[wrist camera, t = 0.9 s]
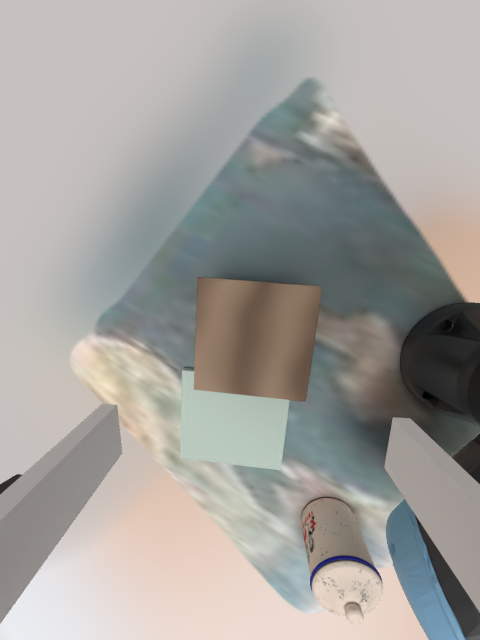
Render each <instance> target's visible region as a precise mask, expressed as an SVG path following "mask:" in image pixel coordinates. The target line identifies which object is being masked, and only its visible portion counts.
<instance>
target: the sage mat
mask: <svg viewBox="0 0 480 640" xmlns="http://www.w3.org/2000/svg"><path fill="white" fill-rule="evenodd" d="M289 401H290V400H286V399H276V398H267V397H257V396H248V395H238V394H229V393H220V392H210V391H201V390H194V368H184V369H183V370H182V403H181V443H180V458H186V459H194V460H202V461H210V462H218V463H226V464H234V465H242V466H250V467H258V468H266V469H275V470H281V464H282V456H283V448H284V440H285V432H286V424H287V416H288V409H289Z"/></svg>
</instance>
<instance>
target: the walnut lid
mask: <svg viewBox="0 0 480 640" xmlns="http://www.w3.org/2000/svg"><path fill="white" fill-rule="evenodd" d="M321 292H322V287H320V286H312V285H299V284H286V283H272V282H259V281H246V280H233V279H220V278H207V277H198V283H197V311H196V339H195V367H194V390H201V391H210V392H220V393H229V394H238V395H248V396H257V397H267V398H276V399H286V400H295V401H305V402H306V397H307V390H308V383H309V376H310V369H311V362H312V355H313V348H314V341H315V334H316V327H317V320H318V313H319V306H320V299H321Z"/></svg>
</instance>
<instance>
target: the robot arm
mask: <svg viewBox="0 0 480 640" xmlns="http://www.w3.org/2000/svg"><path fill="white" fill-rule="evenodd" d="M400 367H401V373H402V377H403V379H404V382H405V383H406V385H407V387H408V388H409V389H410V391H411V392H412V393H413V394H414V395H415V396H416V397H418V398H419V399H420V400H422V401H423V402H424V403H425V404H427V405H428V406H430V407H431V408H433V409H435V410H437V411H439V412H441V413H444V414H447V415H450V416H453V417H455V418H458V419H461V420H464V421H467V422H470V423H473V424H476V425H479V426H480V303H458V304H453V305H449V306H446V307H443V308H441V309H438V310H436V311H434V312H433V313H431V314H429V315H428V316H426V317H425V318H424V319H423V320H421V321H420V322H419V323H418V324H417V325H416V326H415V327H414V329H413V330H412V331H411V333H410V334H409V336H408V337H407V339H406V341H405V343H404V346H403V349H402V352H401V359H400ZM121 454H122V446H121V437H120V429H119V419H118V410H117V405H108V404H102V405H101V406H99V407H98V408H97V409H96V410H95V411H94V412H93V413H92V414H90V415H89V416H88V417H87V418H86V419H85V420H84V421H83V422H81V423H80V424H79V425H78V426H77V427H76V428H75V429H74V430H72V431H71V432H70V433H69V434H68V435H67V436H66V437H65V438H64V439H62V440H61V441H60V442H59V443H58V444H57V445H56V446H54V447H53V448H52V449H51V450H50V451H49V452H48V453H47V454H45V455H44V456H43V457H42V458H41V459H40V460H39V461H38V462H36V463H35V464H34V465H33V466H32V467H31V468H30V469H29V470H27V471H26V472H25V473H24V474H23V475H18V474H17V475H15V476H13V477H12V478H10V479H9V480H7V481H5V482H3V483H2V484H0V623H1V622H2V621H3V619H4V618H5V616H6V615H7V614H8V612H9V610H10V609H11V608H12V606H13V605H14V604H15V602H16V601H17V599H18V598H19V597H20V595H21V594H22V593H23V591H24V590H25V588H26V587H27V586H28V584H29V583H30V581H31V580H32V579H33V577H34V576H35V574H36V573H37V572H38V570H39V568H40V567H41V566H42V565H43V563H44V562H45V560H46V559H47V558H48V556H49V555H50V553H51V552H52V551H53V549H54V548H55V546H56V545H57V544H58V542H59V541H60V539H61V538H62V537H63V535H64V534H65V532H66V531H67V530H68V528H69V527H70V525H71V524H72V522H73V521H74V520H75V518H76V517H77V516H78V514H79V513H80V511H81V510H82V509H83V507H84V506H85V504H86V503H87V502H88V500H89V499H90V497H91V496H92V495H93V493H94V492H95V490H96V489H97V488H98V486H99V485H100V483H101V482H102V481H103V479H104V478H105V476H106V475H107V474H108V472H109V471H110V469H111V468H112V467H113V465H114V464H115V462H116V461H117V460H118V458H119V457H120V455H121ZM384 468H385V470H386V471H387V473H388V474H389V476H390V477H391V479H392V480H393V482H394V483H395V485H396V486H397V488H398V489H399V491H400V492H401V494H402V495H403V497H404V498H405V499H404V500H403V501H402V502H401V503H400V504H399V505H398V506H397V507H396V508H395V509H394V510H393V511H392V512H391V514H390V515H389V517H388V520H387V524H386V538H387V544H388V549H389V552H390V555H391V558H392V560H393V566H394V568H395V571H396V574H397V576H398V579H399V581H400V584H401V586H402V588H403V591H404V593H405V595H406V597H407V599H408V601H409V603H410V605H411V608H412V609H413V611H414V613H415V615H416V617H417V619H418V621H419V623H420V625H421V626H422V628H423V630H424V632H425V634H426V635H427V637H428V639H429V640H480V434H479V435H478V436H477V437H476V438H475V439H473V440H472V441H471V442H469V443H468V444H467V445H466V446H465V447H464V448H462V449H461V450H460V451H459V452H458V453H457V454H455V455H454V456H453V457H452V458H451V457H450V456H449V455H448V454H447V453H446V452H445V451H444V450H443V449H442V448H441V447H440V446H439V445H438V444H437V443H436V442H435V441H434V440H432V439H431V438H430V437H429V436H428V435H427V434H426V433H425V432H424V431H423V430H422V429H421V428H420V427H419V426H418V425H417V424H416V423H415V422H414V421H412V420H411V419H410V418H395V417H393V419H392V425H391V431H390V437H389V443H388V449H387V455H386V460H385V466H384Z"/></svg>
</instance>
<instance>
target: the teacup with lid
mask: <svg viewBox="0 0 480 640" xmlns="http://www.w3.org/2000/svg"><path fill="white" fill-rule="evenodd" d="M301 523H302V529H303V535H304V541H305V546H306V552H307V558H308V564H309V569H310V575H311V577H310V586H311V590H312V592H313V594H314V596H315V598H316V600H317V601H318V603H319V604H320V605H321V606H322V607H323V608H325V609H326V610H328V611H330V612H332V613H334V614H337V615H341V616H346V618H347V619H348V621H349V622H350V623H352V624H360V623H362V621H363V614H365V613H368V612H370V611H371V610H373V609H374V608H375V607H376V606H377V605H378V604H379V602H380V601H381V598H382V594H383V585H382V579H381V576H380V575H379V572H378V571H377V570H376V568H375V566H374V564H373V561H372V559H371V556H370V554H369V551H368V549H367V546H366V544H365V541H364V539H363V536H362V534H361V531H360V528H359V526H358V523H357V521H356V518H355V516H354V514H353V512H352V510H351V509H350V508H349V507H348V506H347V505H346V504H345V503H343V502H342V501H339V500H337V499H333V498H321V499H317V500H315V501H313V502H311V503H310V504H308V505H307V506H306V508H305V509H304V511H303V513H302V516H301Z"/></svg>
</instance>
